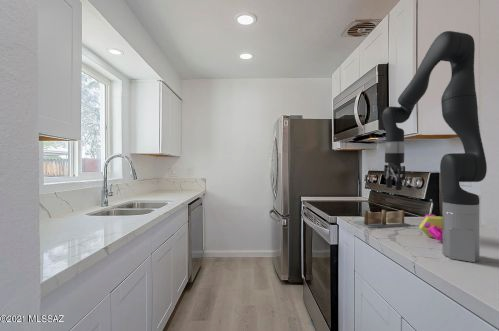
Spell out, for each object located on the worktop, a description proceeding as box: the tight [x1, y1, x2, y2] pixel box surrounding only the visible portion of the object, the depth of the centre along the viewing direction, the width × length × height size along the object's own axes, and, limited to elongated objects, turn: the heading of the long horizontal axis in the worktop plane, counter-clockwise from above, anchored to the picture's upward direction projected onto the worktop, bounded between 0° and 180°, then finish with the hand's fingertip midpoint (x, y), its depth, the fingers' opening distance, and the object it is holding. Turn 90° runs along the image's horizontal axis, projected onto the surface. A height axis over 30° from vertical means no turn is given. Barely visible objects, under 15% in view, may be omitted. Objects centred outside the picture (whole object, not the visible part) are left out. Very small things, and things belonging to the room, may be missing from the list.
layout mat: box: [352, 219, 411, 229], centre depth 131 cm, size 23×12×1 cm, turn 101°
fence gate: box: [363, 210, 382, 225], centre depth 127 cm, size 9×2×6 cm, turn 101°
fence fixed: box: [381, 209, 405, 225], centre depth 129 cm, size 12×2×8 cm, turn 101°
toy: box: [418, 213, 443, 243], centre depth 105 cm, size 10×18×10 cm, turn 162°
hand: (393, 188), depth 116 cm, fingers open, 8 cm apart
